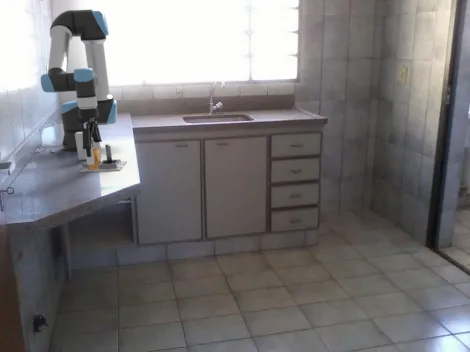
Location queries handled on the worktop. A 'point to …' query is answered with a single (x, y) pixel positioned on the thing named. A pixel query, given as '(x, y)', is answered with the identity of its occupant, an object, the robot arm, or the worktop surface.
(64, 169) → the worktop surface
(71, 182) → the worktop surface
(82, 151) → the skincare box
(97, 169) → the post
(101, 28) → the robot arm
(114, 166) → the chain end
